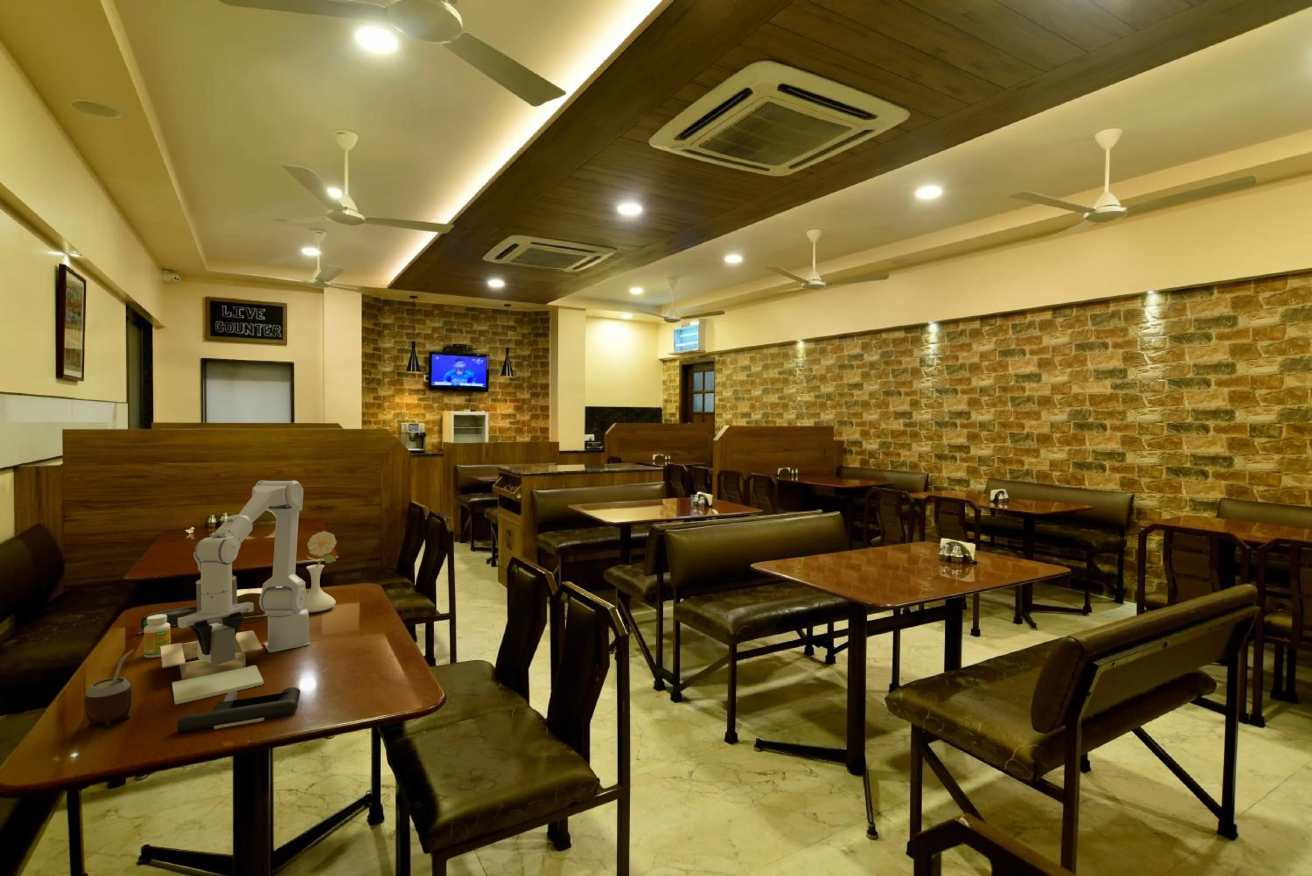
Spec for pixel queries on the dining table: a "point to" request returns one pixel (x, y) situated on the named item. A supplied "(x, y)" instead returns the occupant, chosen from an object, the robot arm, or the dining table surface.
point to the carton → (182, 652)
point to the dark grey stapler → (170, 616)
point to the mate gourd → (109, 700)
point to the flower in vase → (316, 596)
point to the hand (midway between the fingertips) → (217, 650)
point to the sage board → (216, 684)
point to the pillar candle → (234, 598)
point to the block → (219, 645)
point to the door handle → (242, 710)
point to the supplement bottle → (156, 635)
